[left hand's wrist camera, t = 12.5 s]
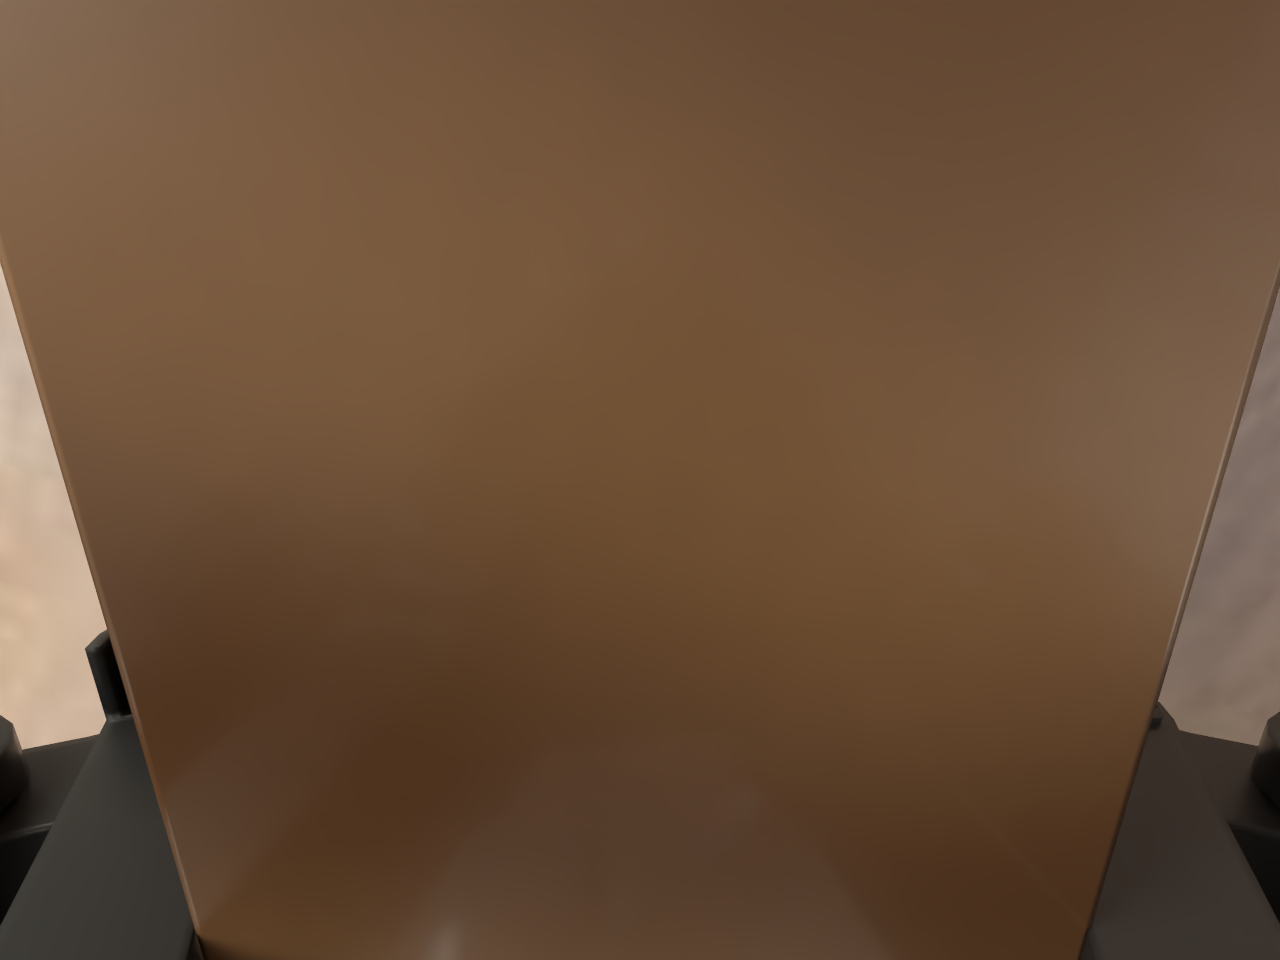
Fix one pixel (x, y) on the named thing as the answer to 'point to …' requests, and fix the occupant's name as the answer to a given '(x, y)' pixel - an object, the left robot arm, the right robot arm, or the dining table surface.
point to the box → (642, 448)
